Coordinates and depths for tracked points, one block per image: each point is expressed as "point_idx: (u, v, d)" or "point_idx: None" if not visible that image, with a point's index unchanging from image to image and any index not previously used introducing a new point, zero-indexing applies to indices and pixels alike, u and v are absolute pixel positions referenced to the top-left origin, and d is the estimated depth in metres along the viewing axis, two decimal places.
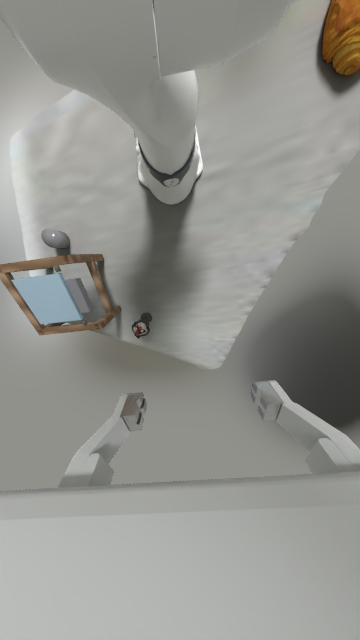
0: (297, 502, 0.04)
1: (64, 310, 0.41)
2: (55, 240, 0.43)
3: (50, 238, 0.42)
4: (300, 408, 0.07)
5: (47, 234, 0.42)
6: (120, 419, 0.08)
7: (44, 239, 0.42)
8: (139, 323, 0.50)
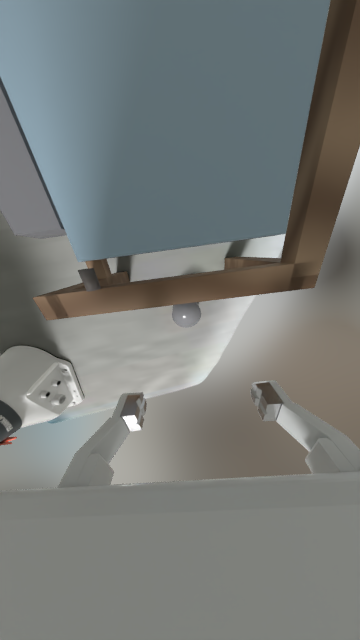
0: (297, 502, 0.04)
1: None
2: (178, 311, 0.23)
3: (186, 315, 0.23)
4: (300, 408, 0.07)
5: (188, 320, 0.24)
6: (120, 419, 0.08)
7: (197, 313, 0.23)
8: None
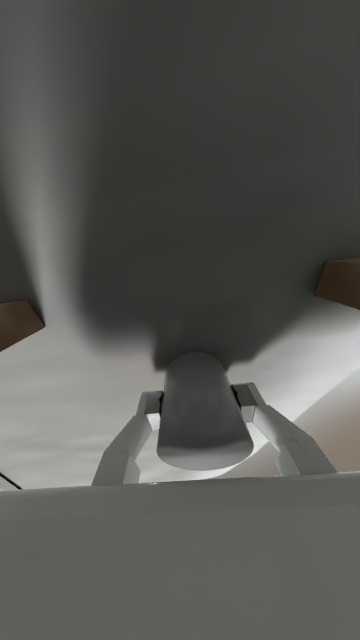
0: (297, 502, 0.04)
1: None
2: (177, 446, 0.07)
3: (203, 452, 0.07)
4: (272, 410, 0.08)
5: (210, 460, 0.08)
6: (144, 417, 0.08)
7: (242, 448, 0.07)
8: None
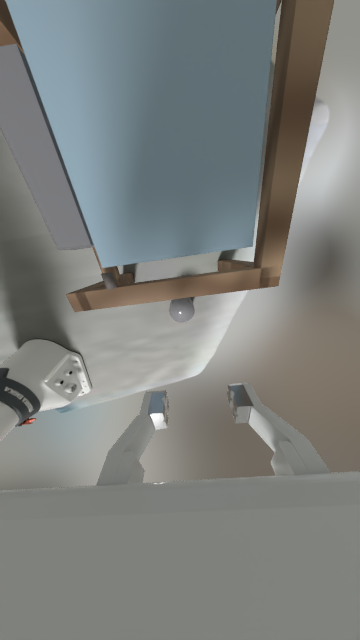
0: (297, 502, 0.04)
1: (98, 71, 0.08)
2: (174, 308, 0.27)
3: (181, 311, 0.27)
4: (268, 411, 0.08)
5: (183, 316, 0.27)
6: (148, 417, 0.08)
7: (191, 309, 0.27)
8: None
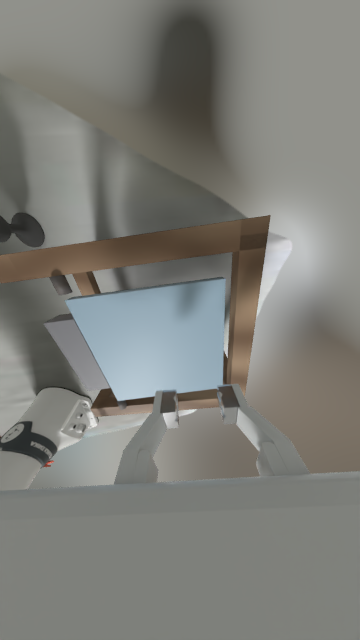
0: (297, 502, 0.04)
1: (121, 330, 0.13)
2: None
3: None
4: (254, 412, 0.08)
5: None
6: (161, 416, 0.08)
7: None
8: None
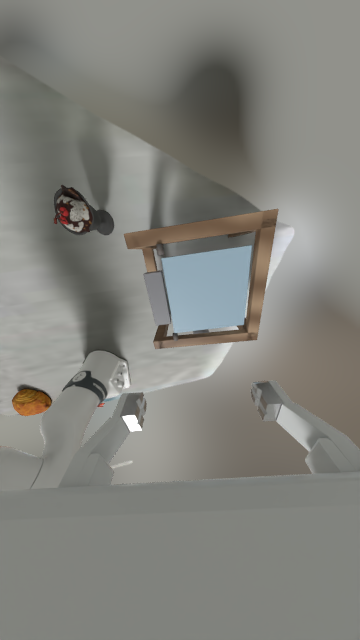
0: (297, 502, 0.04)
1: (187, 278, 0.22)
2: None
3: None
4: (300, 408, 0.07)
5: None
6: (120, 419, 0.08)
7: None
8: (76, 230, 0.24)
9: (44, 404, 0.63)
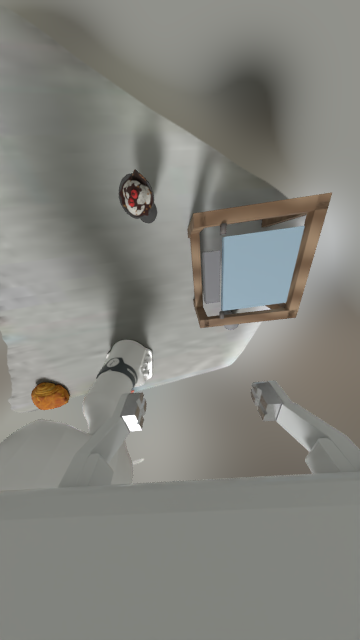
0: (297, 502, 0.04)
1: (244, 257, 0.25)
2: None
3: None
4: (300, 408, 0.07)
5: (232, 326, 0.44)
6: (120, 419, 0.08)
7: None
8: (137, 213, 0.26)
9: (63, 397, 0.63)
